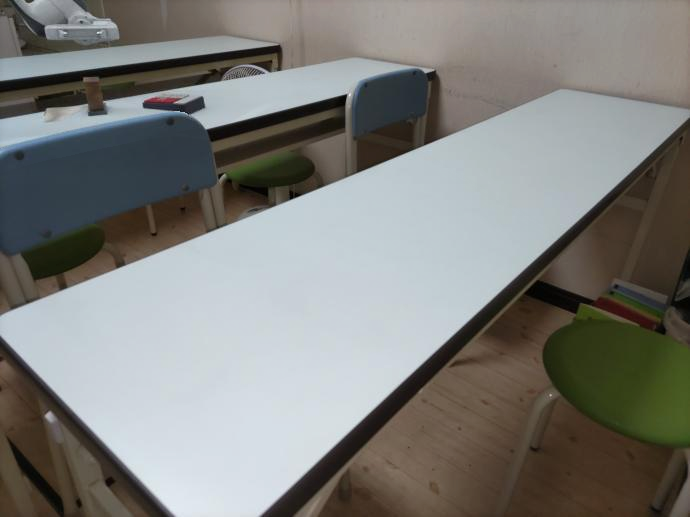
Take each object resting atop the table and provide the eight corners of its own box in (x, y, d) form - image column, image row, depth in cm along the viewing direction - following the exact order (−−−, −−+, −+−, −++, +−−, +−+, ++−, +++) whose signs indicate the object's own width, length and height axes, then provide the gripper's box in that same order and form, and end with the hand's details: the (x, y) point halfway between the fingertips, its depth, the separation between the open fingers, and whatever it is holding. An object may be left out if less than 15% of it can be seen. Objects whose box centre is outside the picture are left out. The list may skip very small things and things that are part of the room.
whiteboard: (42, 127, 140) (41, 122, 139) (46, 111, 152) (45, 107, 152) (120, 121, 147) (119, 117, 146) (118, 107, 159) (117, 103, 159)
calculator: (162, 92, 162) (203, 93, 158) (165, 106, 165) (205, 107, 160) (140, 100, 153) (183, 102, 149) (144, 114, 156) (186, 116, 151)
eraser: (88, 116, 146) (81, 83, 141) (88, 107, 154) (81, 76, 149) (107, 115, 147) (100, 82, 143) (106, 106, 155) (100, 75, 151)
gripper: (43, 18, 155) (39, 24, 145) (115, 18, 163) (117, 23, 152) (48, 40, 159) (45, 47, 148) (119, 39, 166) (121, 46, 155)
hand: (82, 35), depth 150 cm, fingers open, 8 cm apart
